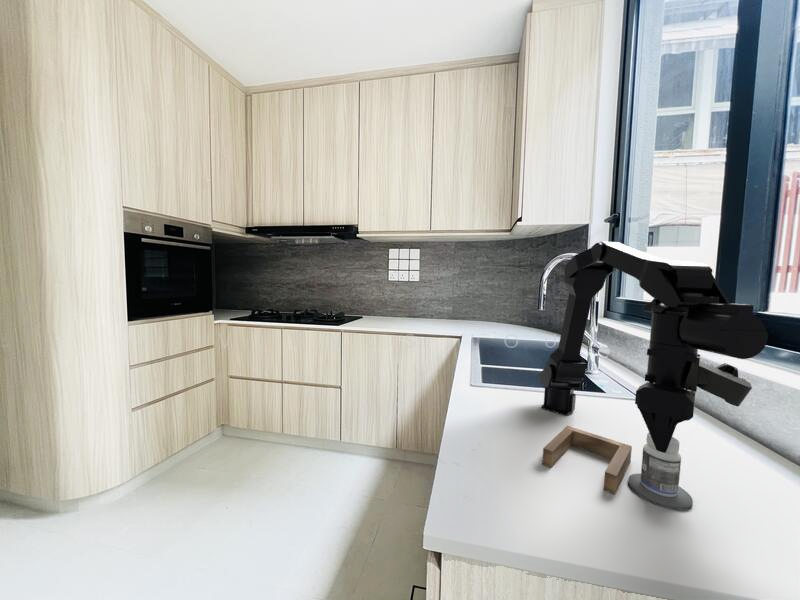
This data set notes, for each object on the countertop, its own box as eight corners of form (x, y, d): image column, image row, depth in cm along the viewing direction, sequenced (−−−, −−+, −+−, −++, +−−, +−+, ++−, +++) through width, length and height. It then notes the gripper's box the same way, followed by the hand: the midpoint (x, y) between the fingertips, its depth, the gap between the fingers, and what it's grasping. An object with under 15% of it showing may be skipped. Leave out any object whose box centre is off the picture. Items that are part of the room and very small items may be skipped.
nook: (542, 464, 58) (543, 448, 58) (566, 439, 68) (567, 425, 68) (615, 494, 50) (616, 476, 50) (630, 461, 60) (631, 446, 60)
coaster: (623, 491, 51) (624, 487, 51) (632, 471, 57) (632, 467, 57) (691, 518, 46) (691, 514, 46) (693, 493, 51) (693, 489, 51)
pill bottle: (642, 475, 55) (646, 427, 54) (679, 488, 51) (683, 438, 51) (637, 487, 51) (642, 436, 51) (676, 502, 48) (681, 448, 47)
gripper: (756, 363, 37) (743, 492, 38) (744, 345, 51) (734, 440, 52) (639, 347, 45) (630, 454, 46) (655, 335, 58) (648, 418, 59)
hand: (664, 441), depth 51 cm, fingers open, 9 cm apart
